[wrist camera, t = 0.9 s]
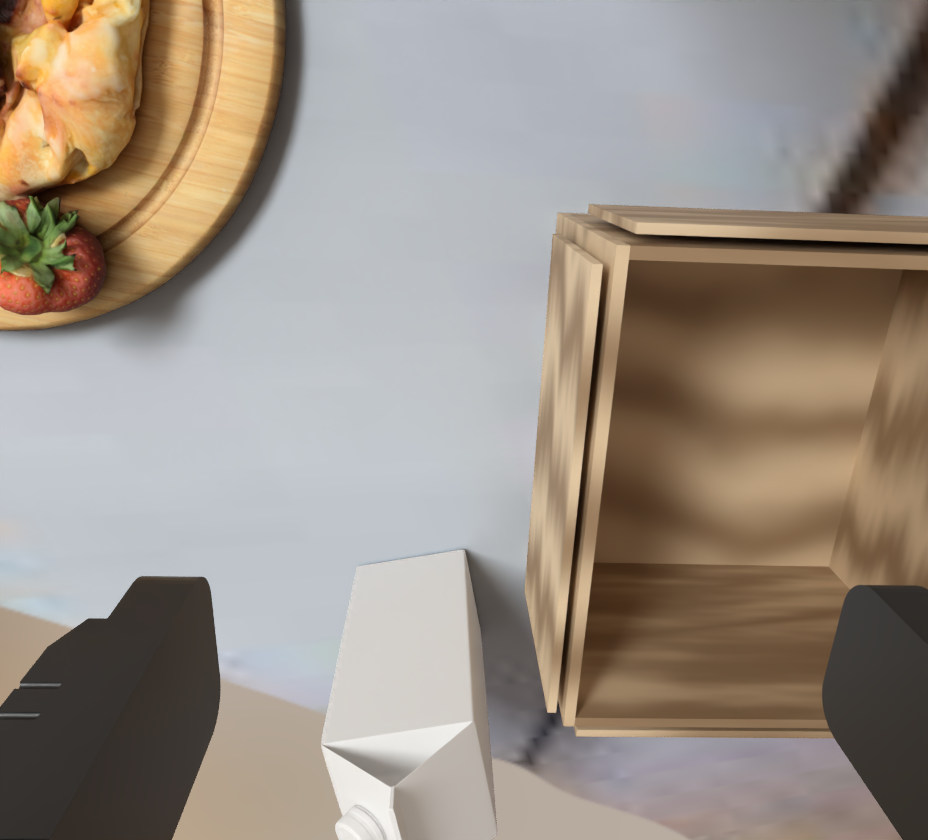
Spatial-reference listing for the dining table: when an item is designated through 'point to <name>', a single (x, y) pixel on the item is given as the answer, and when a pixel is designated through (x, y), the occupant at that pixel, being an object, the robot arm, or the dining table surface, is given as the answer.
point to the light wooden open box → (722, 460)
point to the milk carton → (411, 706)
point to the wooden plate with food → (125, 143)
